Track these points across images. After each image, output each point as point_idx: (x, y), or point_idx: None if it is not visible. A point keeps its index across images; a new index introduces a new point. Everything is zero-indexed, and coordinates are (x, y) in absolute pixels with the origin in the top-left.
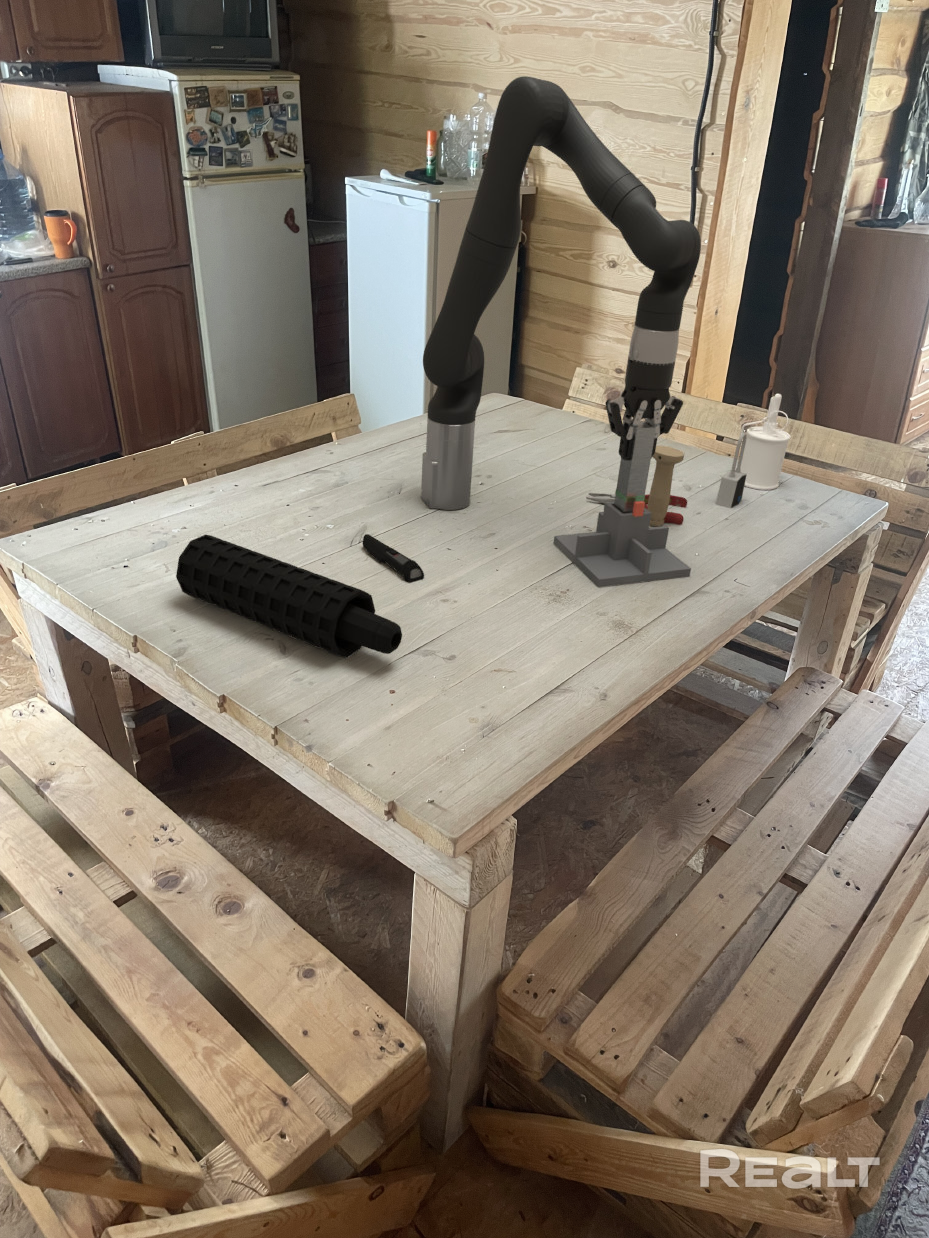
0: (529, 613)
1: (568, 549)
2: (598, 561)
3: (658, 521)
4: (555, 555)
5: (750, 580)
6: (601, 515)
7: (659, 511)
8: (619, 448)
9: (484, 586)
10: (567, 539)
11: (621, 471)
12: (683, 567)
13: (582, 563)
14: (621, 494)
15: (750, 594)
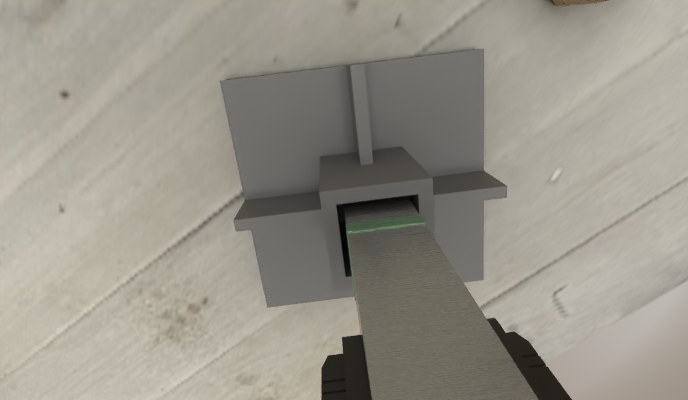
0: (114, 370)
1: (238, 166)
2: (292, 232)
3: (563, 3)
4: (214, 149)
5: (586, 295)
6: (352, 86)
7: (578, 2)
8: (322, 388)
9: (30, 274)
10: (251, 107)
11: (355, 288)
12: (470, 274)
13: (253, 236)
14: (351, 268)
15: (548, 341)
